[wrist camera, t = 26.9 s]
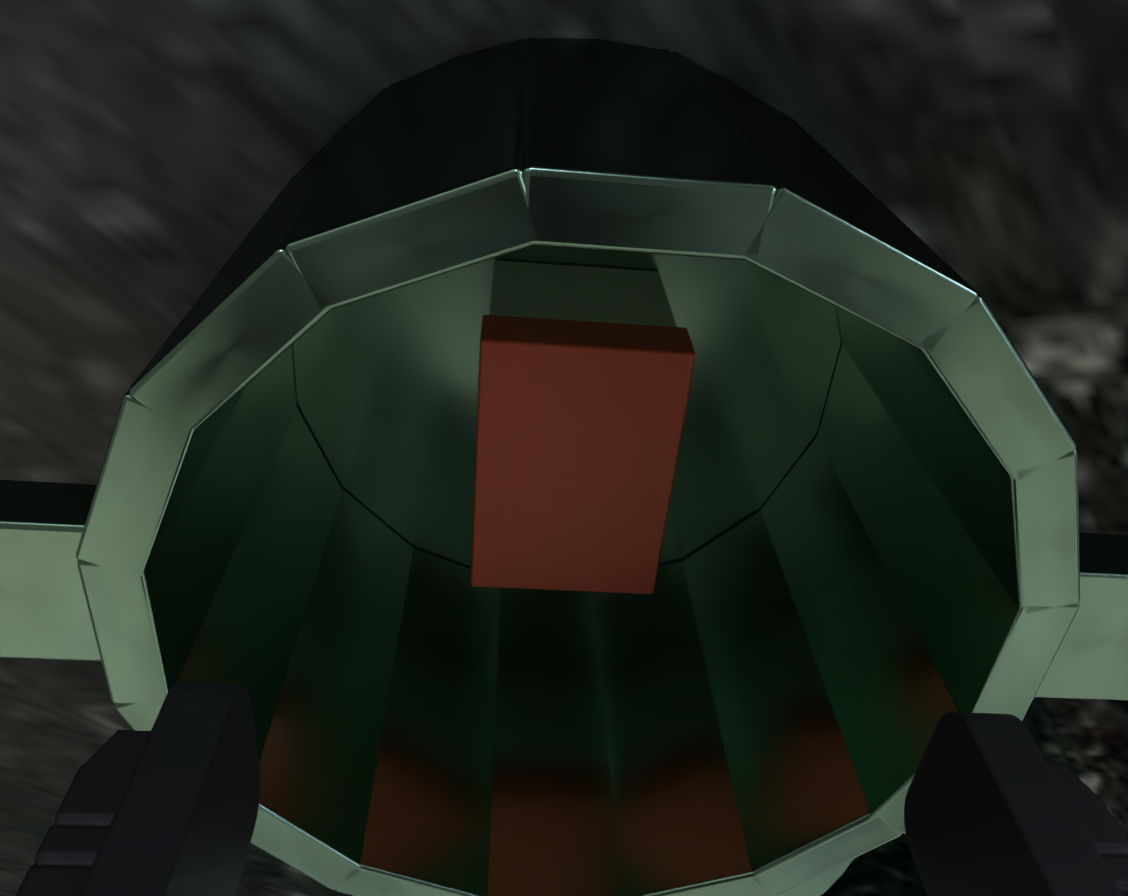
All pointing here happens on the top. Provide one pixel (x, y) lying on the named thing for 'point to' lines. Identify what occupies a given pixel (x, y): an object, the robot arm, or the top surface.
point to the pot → (558, 617)
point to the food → (576, 428)
